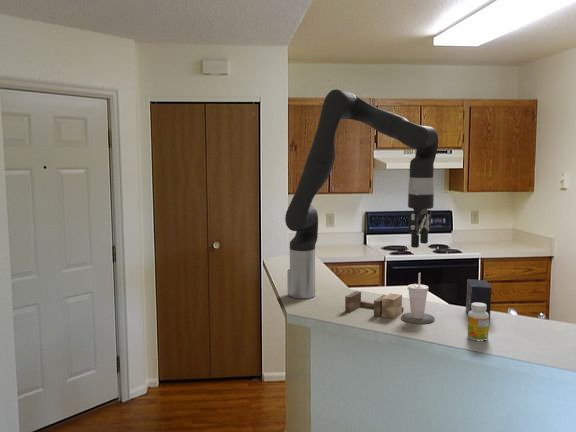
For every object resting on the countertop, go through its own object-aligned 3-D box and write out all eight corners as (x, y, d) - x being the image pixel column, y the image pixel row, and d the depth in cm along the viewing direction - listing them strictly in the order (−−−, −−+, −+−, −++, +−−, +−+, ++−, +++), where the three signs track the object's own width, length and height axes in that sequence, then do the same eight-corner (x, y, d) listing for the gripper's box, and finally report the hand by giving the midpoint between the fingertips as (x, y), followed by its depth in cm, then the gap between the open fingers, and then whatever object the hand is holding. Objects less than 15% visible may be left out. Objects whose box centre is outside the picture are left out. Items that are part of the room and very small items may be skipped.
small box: (491, 320, 166) (492, 287, 165) (469, 319, 167) (470, 286, 166) (486, 311, 176) (487, 279, 175) (465, 309, 177) (466, 278, 176)
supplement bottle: (464, 335, 152) (465, 301, 151) (482, 334, 152) (483, 301, 151) (472, 342, 147) (473, 307, 146) (491, 341, 147) (492, 306, 146)
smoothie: (416, 321, 163) (417, 275, 162) (402, 315, 169) (403, 271, 168) (432, 318, 166) (433, 273, 165) (418, 312, 172) (419, 269, 170)
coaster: (396, 320, 166) (396, 318, 166) (407, 312, 174) (407, 310, 174) (428, 325, 161) (428, 323, 161) (438, 317, 169) (438, 315, 169)
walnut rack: (345, 311, 176) (345, 293, 176) (356, 304, 184) (357, 287, 183) (393, 319, 168) (393, 300, 167) (403, 311, 175) (403, 293, 175)
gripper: (416, 190, 171) (415, 241, 173) (400, 193, 159) (399, 247, 161) (440, 191, 167) (438, 243, 169) (425, 194, 155) (424, 250, 157)
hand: (419, 245), depth 165 cm, fingers open, 8 cm apart
